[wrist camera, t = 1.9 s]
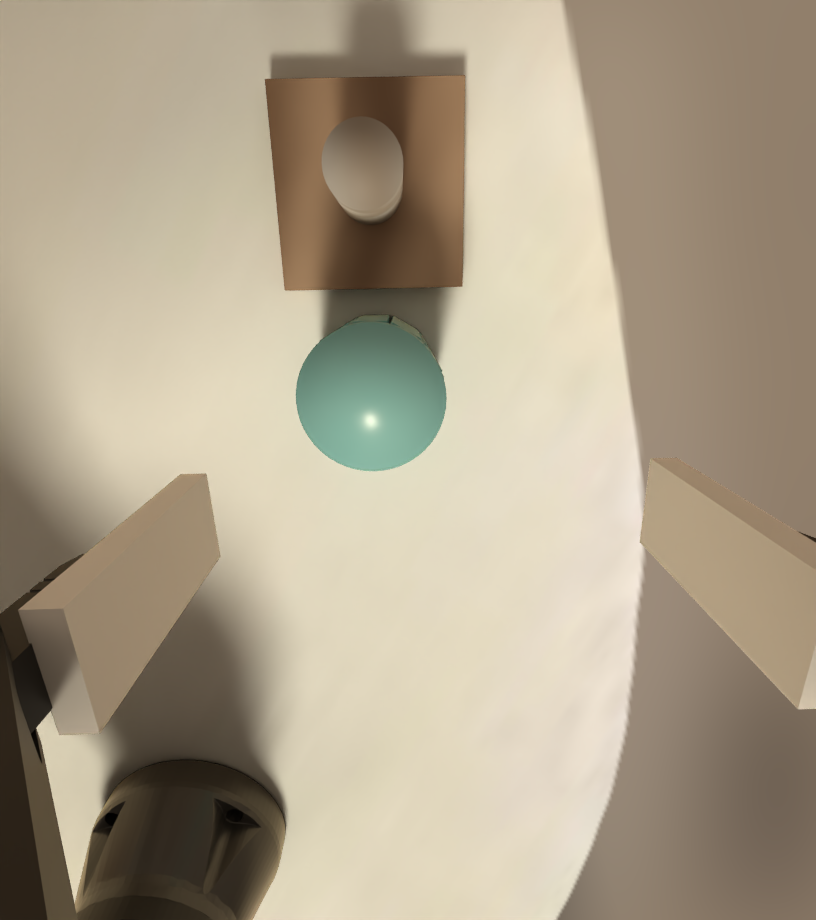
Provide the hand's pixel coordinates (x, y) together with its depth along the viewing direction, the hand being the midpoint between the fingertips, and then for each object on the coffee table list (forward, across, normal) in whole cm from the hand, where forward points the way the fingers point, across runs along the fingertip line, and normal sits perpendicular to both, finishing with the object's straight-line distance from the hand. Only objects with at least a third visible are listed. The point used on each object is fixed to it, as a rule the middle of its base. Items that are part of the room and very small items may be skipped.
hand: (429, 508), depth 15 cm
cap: (+17, -2, +1) cm, 18 cm away
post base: (+17, -2, +11) cm, 21 cm away
